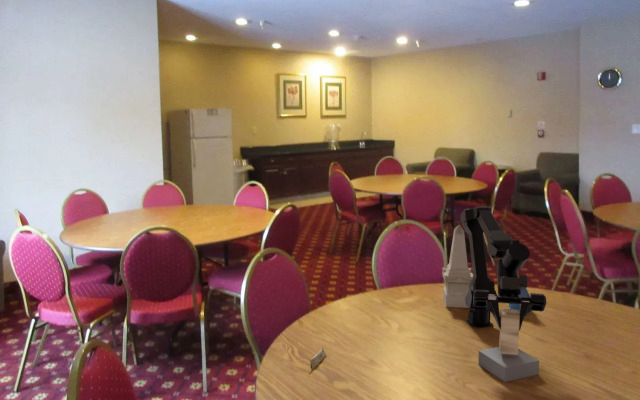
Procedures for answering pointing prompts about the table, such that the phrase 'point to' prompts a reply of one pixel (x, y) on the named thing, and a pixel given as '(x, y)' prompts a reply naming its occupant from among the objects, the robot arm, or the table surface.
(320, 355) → the snack bar
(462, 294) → the miniature monument
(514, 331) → the birch block
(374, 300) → the table surface
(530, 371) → the plinth
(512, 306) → the perfume bottle
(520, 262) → the robot arm
